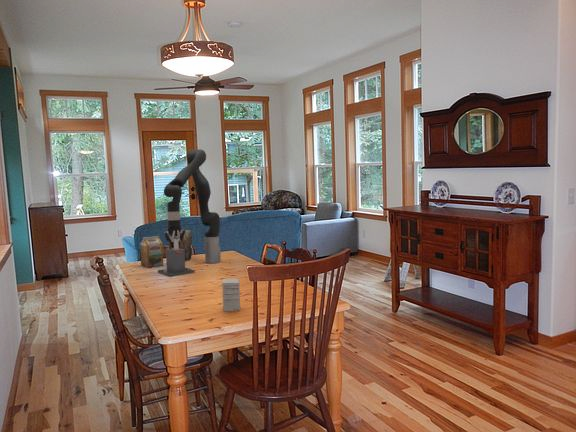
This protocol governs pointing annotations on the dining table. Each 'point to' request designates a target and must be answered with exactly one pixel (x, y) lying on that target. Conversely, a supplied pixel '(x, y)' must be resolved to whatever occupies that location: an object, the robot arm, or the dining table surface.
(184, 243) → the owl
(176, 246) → the column
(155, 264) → the milk carton
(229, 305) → the supplement box
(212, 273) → the dining table surface
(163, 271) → the stand housing
